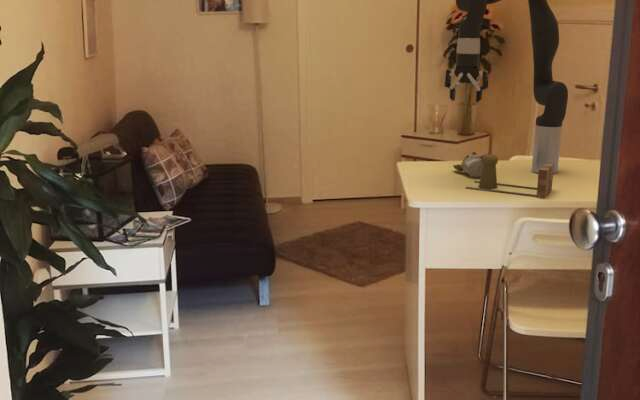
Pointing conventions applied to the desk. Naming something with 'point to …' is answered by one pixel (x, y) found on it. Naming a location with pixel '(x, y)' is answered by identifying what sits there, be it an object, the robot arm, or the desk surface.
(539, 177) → the lane
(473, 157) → the ceramic sculpture
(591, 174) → the desk surface
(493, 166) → the cork
